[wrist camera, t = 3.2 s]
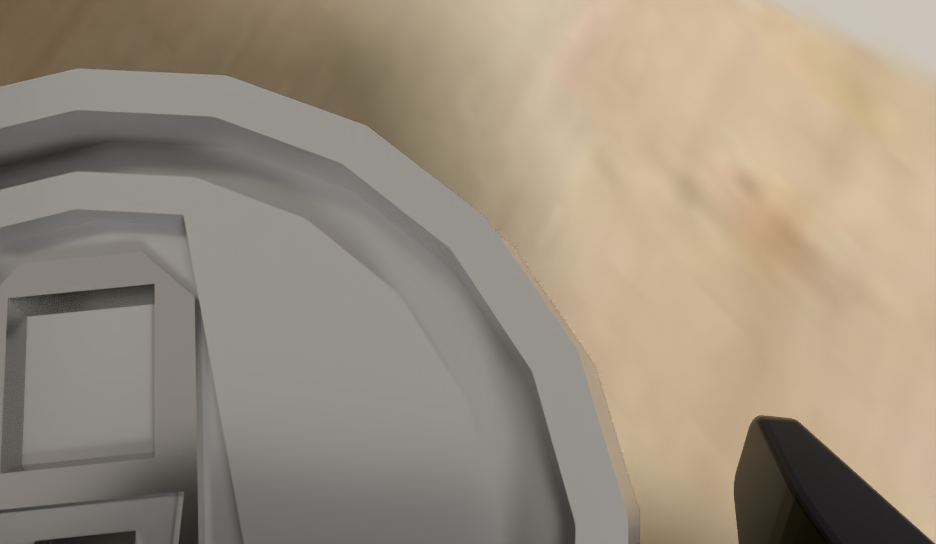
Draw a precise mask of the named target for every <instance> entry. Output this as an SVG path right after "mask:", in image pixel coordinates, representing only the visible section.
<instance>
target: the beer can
mask: <svg viewBox="0 0 936 544" xmlns="http://www.w3.org/2000/svg"><path fill="white" fill-rule="evenodd" d="M0 544H640V511H639V508H638V504H637V501H636V498H635V495H634V491H633V488H632V485H631V481H630V478H629V475H628V471H627V468H626V465H625V461H624V458H623V455H622V452H621V448H620V445H619V442H618V438H617V435H616V432H615V428H614V425H613V422H612V418H611V415H610V412H609V409H608V405H607V402H606V399H605V395H604V392H603V389H602V385H601V382H600V379H599V375H598V372H597V369H596V366H595V364H594V363H593V361H592V360H591V358H590V357H589V355H588V354H587V352H586V351H585V350H584V348H583V347H582V345H581V344H580V342H579V341H578V339H577V338H576V336H575V335H574V334H573V332H572V331H571V329H570V328H569V326H568V325H567V323H566V322H565V320H564V319H563V317H562V316H561V315H560V313H559V312H558V310H557V309H556V307H555V306H554V304H553V303H552V301H551V300H550V299H549V297H548V296H547V294H546V293H545V291H544V290H543V288H542V287H541V285H540V284H539V282H538V281H537V280H536V278H535V277H534V275H533V274H532V272H531V271H530V269H529V268H528V266H527V265H526V264H525V262H524V261H523V259H522V258H521V256H520V255H519V253H518V252H517V250H516V249H515V248H514V247H513V246H512V245H510V244H509V243H508V242H506V241H505V240H504V239H503V238H501V237H500V236H499V235H498V233H497V232H496V230H495V229H494V227H493V226H492V225H491V223H490V222H489V220H488V219H487V218H486V217H485V216H484V215H482V214H481V213H480V212H478V211H477V210H476V209H475V208H473V207H472V206H471V205H469V204H468V203H467V202H465V201H464V200H463V199H462V198H460V197H459V196H458V195H456V194H455V193H454V192H452V191H451V190H450V189H449V188H447V187H446V186H445V185H443V184H442V183H441V182H439V181H438V180H437V179H436V178H434V177H433V176H432V175H430V174H429V173H428V172H426V171H425V170H424V169H423V168H421V167H420V166H419V165H417V164H416V163H415V162H413V161H412V160H411V159H410V158H408V157H407V156H406V155H404V154H403V153H402V152H400V151H399V150H398V149H397V148H395V147H394V146H393V145H391V144H390V143H389V142H387V141H386V140H385V139H384V138H382V137H381V136H380V135H378V134H377V133H376V132H375V131H373V130H372V129H371V128H369V127H368V126H367V125H364V124H361V123H358V122H356V121H353V120H350V119H347V118H344V117H342V116H339V115H336V114H333V113H331V112H328V111H325V110H322V109H319V108H317V107H314V106H311V105H308V104H305V103H303V102H300V101H297V100H294V99H292V98H289V97H286V96H283V95H280V94H278V93H275V92H272V91H269V90H266V89H264V88H261V87H258V86H255V85H253V84H250V83H247V82H244V81H241V80H239V79H236V78H233V77H230V76H227V75H209V74H188V73H166V72H145V71H123V70H102V69H80V68H76V69H72V70H68V71H64V72H60V73H55V74H51V75H47V76H43V77H39V78H34V79H30V80H26V81H22V82H18V83H13V84H9V85H5V86H1V87H0Z"/></svg>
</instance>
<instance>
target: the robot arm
mask: <svg viewBox="0 0 936 544" xmlns="http://www.w3.org/2000/svg"><path fill="white" fill-rule="evenodd" d="M734 502H735V511H736V521H737V530H738V539H739V544H935V543H934V542H932V541H931V540H930V539H929V538H928V537H927V536H926V535H925V534H923V533H922V532H921V531H920V530H919V529H918V528H917V527H916V526H915V525H913V524H912V523H911V522H910V521H909V520H908V519H907V518H906V517H905V516H903V515H902V514H901V513H900V512H899V511H898V510H897V509H896V508H895V507H893V506H892V505H891V504H890V503H889V502H888V501H887V500H886V499H884V498H883V497H882V496H881V495H880V494H879V493H878V492H877V491H876V490H874V489H873V488H872V487H871V486H870V485H869V484H868V483H867V482H866V481H864V480H863V479H862V478H861V477H860V476H859V475H858V474H857V473H855V472H854V471H853V470H852V469H851V468H850V467H849V466H848V465H847V464H845V463H844V462H843V461H842V460H841V459H840V458H839V457H838V456H837V455H835V454H834V453H833V452H832V451H831V450H830V449H829V448H828V447H827V446H825V445H824V444H823V443H822V442H821V441H820V440H819V439H818V438H816V437H815V436H814V435H813V434H812V433H811V432H810V431H809V430H808V429H806V428H805V427H804V426H803V425H802V424H801V423H799V422H798V421H797V420H795V419H791V418H783V417H773V416H763V415H760V416H757V417H756V418H754V419H753V421H752V422H751V424H750V426H749V429H748V433H747V436H746V440H745V443H744V446H743V450H742V453H741V457H740V460H739V464H738V467H737V470H736V474H735V480H734Z"/></svg>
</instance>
